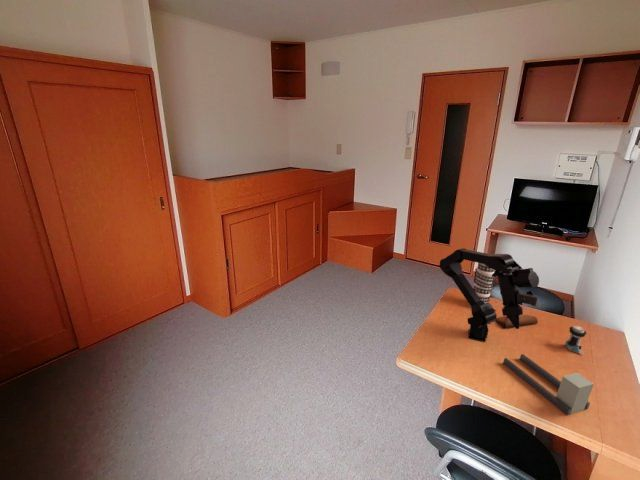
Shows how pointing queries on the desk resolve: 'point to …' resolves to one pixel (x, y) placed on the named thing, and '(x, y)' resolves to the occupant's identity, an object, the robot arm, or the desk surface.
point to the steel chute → (536, 385)
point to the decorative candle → (483, 282)
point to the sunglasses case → (523, 320)
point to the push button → (575, 339)
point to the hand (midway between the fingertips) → (517, 328)
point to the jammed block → (574, 391)
